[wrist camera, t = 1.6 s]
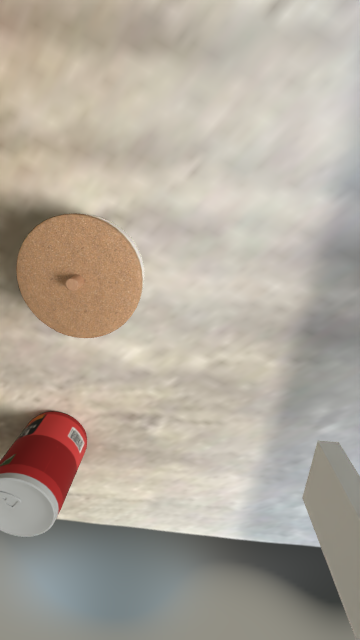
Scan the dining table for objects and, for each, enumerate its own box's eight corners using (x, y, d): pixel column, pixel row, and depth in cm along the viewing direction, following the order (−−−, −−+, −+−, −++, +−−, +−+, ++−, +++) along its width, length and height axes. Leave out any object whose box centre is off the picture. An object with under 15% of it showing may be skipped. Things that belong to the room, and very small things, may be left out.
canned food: (37, 400, 41) (-15, 466, 31) (97, 423, 42) (66, 495, 31) (21, 445, 43) (-32, 521, 33) (78, 466, 44) (44, 547, 34)
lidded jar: (57, 310, 37) (14, 344, 28) (46, 210, 33) (-6, 212, 25) (152, 314, 37) (139, 348, 28) (151, 213, 33) (137, 216, 24)
